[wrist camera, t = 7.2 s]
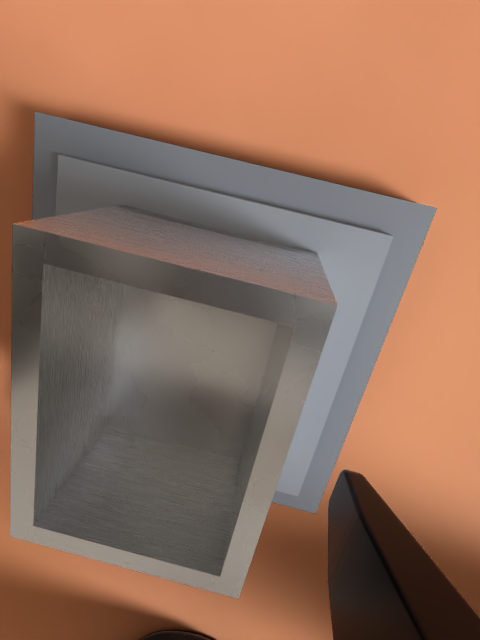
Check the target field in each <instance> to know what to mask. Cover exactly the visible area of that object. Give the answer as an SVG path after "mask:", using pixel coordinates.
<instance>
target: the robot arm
mask: <svg viewBox="0 0 480 640" xmlns="http://www.w3.org/2000/svg"><path fill="white" fill-rule="evenodd" d="M328 587H329V599H330V609H331V620H332V630H333V640H480V618H479V616H478V615H477V614H476V613H475V612H474V610H473V609H472V608H471V607H470V605H469V604H468V603H467V602H466V601H465V599H464V598H463V597H462V596H461V594H460V593H459V592H458V591H457V590H456V588H455V587H454V586H453V585H452V583H451V582H450V581H449V580H448V579H447V577H446V576H445V575H444V574H443V572H442V571H441V570H440V569H439V568H438V566H437V565H436V564H435V563H434V561H433V560H432V559H431V558H430V557H429V555H428V554H427V553H426V552H425V550H424V549H423V548H422V547H421V546H420V544H419V543H418V542H417V541H416V539H415V538H414V537H413V536H412V535H411V533H410V532H409V531H408V530H407V528H406V527H405V526H404V525H403V524H402V522H401V521H400V520H399V519H398V517H397V516H396V515H395V514H394V513H393V511H392V510H391V509H390V508H389V506H388V505H387V504H386V503H385V502H384V500H383V499H382V498H381V497H380V495H379V494H378V493H377V492H376V491H375V489H374V488H373V487H372V486H371V484H370V483H369V482H368V481H367V480H366V478H365V477H364V476H363V475H362V474H360V473H356V472H352V471H349V470H343V471H342V472H341V473H340V475H339V477H338V480H337V482H336V485H335V487H334V490H333V492H332V495H331V497H330V501H329V508H328Z"/></svg>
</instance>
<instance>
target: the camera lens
mask: <svg viewBox="0 0 480 640" xmlns="http://www.w3.org/2000/svg"><path fill="white" fill-rule="evenodd" d="M141 640H210V639H208V638H206V637H203V636H201V635H197V634H193V633H188V632H181V631H162V632H157V633H153V634H150V635H148V636H146V637H144V638H143V639H141Z"/></svg>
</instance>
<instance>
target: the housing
mask: <svg viewBox="0 0 480 640" xmlns="http://www.w3.org/2000/svg"><path fill="white" fill-rule="evenodd" d="M337 306H338V304H337V302H336V299H335V297H334V294H333V291H332V289H331V286H330V284H329V281H328V279H327V276H326V274H325V271H324V269H323V266H322V263H321V261H320V258H319V256H318V253H316V252H312V251H308V250H304V249H300V248H296V247H292V246H288V245H284V244H280V243H276V242H272V241H268V240H264V239H260V238H255V237H251V236H247V235H243V234H239V233H235V232H231V231H227V230H223V229H219V228H215V227H211V226H207V225H203V224H199V223H195V222H191V221H187V220H183V219H179V218H175V217H171V216H167V215H162V214H158V213H154V212H150V211H146V210H142V209H138V208H134V207H130V206H126V205H117V206H111V207H105V208H100V209H94V210H88V211H82V212H76V213H71V214H65V215H59V216H53V217H47V218H42V219H36V220H30V221H24V222H18V223H13V224H12V346H11V476H10V537H13V538H17V539H21V540H24V541H28V542H32V543H35V544H39V545H42V546H46V547H50V548H53V549H57V550H61V551H64V552H68V553H72V554H75V555H79V556H83V557H86V558H90V559H94V560H97V561H101V562H105V563H108V564H112V565H116V566H119V567H123V568H127V569H130V570H134V571H138V572H141V573H145V574H149V575H152V576H156V577H159V578H163V579H167V580H170V581H174V582H178V583H181V584H185V585H189V586H192V587H196V588H200V589H203V590H207V591H211V592H214V593H218V594H222V595H225V596H229V597H233V598H236V599H239V596H240V593H241V590H242V587H243V584H244V581H245V578H246V575H247V573H248V570H249V567H250V564H251V561H252V558H253V555H254V552H255V549H256V546H257V543H258V540H259V537H260V534H261V531H262V528H263V525H264V522H265V519H266V516H267V513H268V510H269V507H270V504H271V501H272V499H273V496H274V493H275V490H276V487H277V484H278V481H279V478H280V475H281V472H282V469H283V466H284V463H285V460H286V457H287V454H288V451H289V448H290V445H291V442H292V439H293V436H294V433H295V430H296V427H297V425H298V422H299V419H300V416H301V413H302V410H303V407H304V404H305V401H306V398H307V395H308V392H309V389H310V386H311V383H312V380H313V377H314V374H315V371H316V368H317V365H318V362H319V359H320V356H321V353H322V350H323V348H324V345H325V342H326V339H327V336H328V333H329V330H330V327H331V324H332V321H333V318H334V315H335V312H336V309H337Z"/></svg>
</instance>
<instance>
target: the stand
mask: <svg viewBox="0 0 480 640" xmlns="http://www.w3.org/2000/svg"><path fill="white" fill-rule="evenodd" d="M117 205H126V206H130V207H134V208H138V209H142V210H146V211H150V212H154V213H158V214H162V215H167V216H171V217H175V218H179V219H183V220H187V221H191V222H195V223H199V224H203V225H207V226H211V227H215V228H219V229H223V230H227V231H231V232H235V233H239V234H243V235H247V236H251V237H255V238H260V239H264V240H268V241H272V242H276V243H280V244H284V245H288V246H292V247H296V248H300V249H304V250H308V251H312V252H316V253H318V256H319V258H320V261H321V263H322V266H323V269H324V271H325V274H326V276H327V279H328V281H329V284H330V286H331V289H332V291H333V294H334V297H335V299H336V302H337V304H338V306H337V309H336V312H335V315H334V318H333V321H332V324H331V327H330V330H329V333H328V336H327V339H326V342H325V345H324V348H323V350H322V353H321V356H320V359H319V362H318V365H317V368H316V371H315V374H314V377H313V380H312V383H311V386H310V389H309V392H308V395H307V398H306V401H305V404H304V407H303V410H302V413H301V416H300V419H299V422H298V425H297V427H296V430H295V433H294V436H293V439H292V442H291V445H290V448H289V451H288V454H287V457H286V460H285V463H284V466H283V469H282V472H281V475H280V478H279V481H278V484H277V487H276V490H275V493H274V496H273V499H272V501H271V502H272V503H276V504H280V505H284V506H288V507H291V508H295V509H299V510H303V511H306V512H310V513H314V514H316V512H317V509H318V506H319V504H320V501H321V499H322V496H323V494H324V491H325V489H326V486H327V484H328V481H329V479H330V476H331V474H332V471H333V469H334V466H335V464H336V461H337V459H338V456H339V454H340V451H341V449H342V446H343V444H344V441H345V439H346V436H347V434H348V431H349V429H350V426H351V424H352V421H353V418H354V416H355V413H356V411H357V408H358V406H359V403H360V401H361V398H362V396H363V393H364V391H365V388H366V386H367V383H368V381H369V378H370V376H371V373H372V371H373V368H374V366H375V363H376V361H377V358H378V356H379V353H380V351H381V348H382V346H383V343H384V341H385V338H386V335H387V333H388V330H389V328H390V325H391V323H392V320H393V318H394V315H395V313H396V310H397V308H398V305H399V303H400V300H401V298H402V295H403V293H404V290H405V288H406V285H407V283H408V280H409V278H410V275H411V273H412V270H413V268H414V265H415V263H416V260H417V258H418V255H419V252H420V250H421V247H422V245H423V242H424V240H425V237H426V235H427V232H428V230H429V227H430V225H431V222H432V220H433V217H434V215H435V212H436V210H437V208H434V207H430V206H426V205H422V204H418V203H414V202H410V201H405V200H401V199H397V198H393V197H389V196H385V195H380V194H376V193H372V192H368V191H364V190H360V189H355V188H351V187H347V186H343V185H339V184H335V183H331V182H326V181H322V180H318V179H314V178H310V177H306V176H301V175H297V174H293V173H289V172H285V171H281V170H276V169H272V168H268V167H264V166H260V165H256V164H252V163H247V162H243V161H239V160H235V159H231V158H227V157H222V156H218V155H214V154H210V153H206V152H202V151H197V150H193V149H189V148H185V147H181V146H177V145H172V144H168V143H164V142H160V141H156V140H152V139H148V138H143V137H139V136H135V135H131V134H127V133H123V132H118V131H114V130H110V129H106V128H102V127H98V126H93V125H89V124H85V123H81V122H77V121H73V120H69V119H64V118H60V117H56V116H52V115H48V114H44V113H39V112H35V125H34V166H33V206H32V220H36V219H42V218H47V217H53V216H59V215H65V214H71V213H76V212H82V211H88V210H94V209H100V208H105V207H111V206H117Z"/></svg>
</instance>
